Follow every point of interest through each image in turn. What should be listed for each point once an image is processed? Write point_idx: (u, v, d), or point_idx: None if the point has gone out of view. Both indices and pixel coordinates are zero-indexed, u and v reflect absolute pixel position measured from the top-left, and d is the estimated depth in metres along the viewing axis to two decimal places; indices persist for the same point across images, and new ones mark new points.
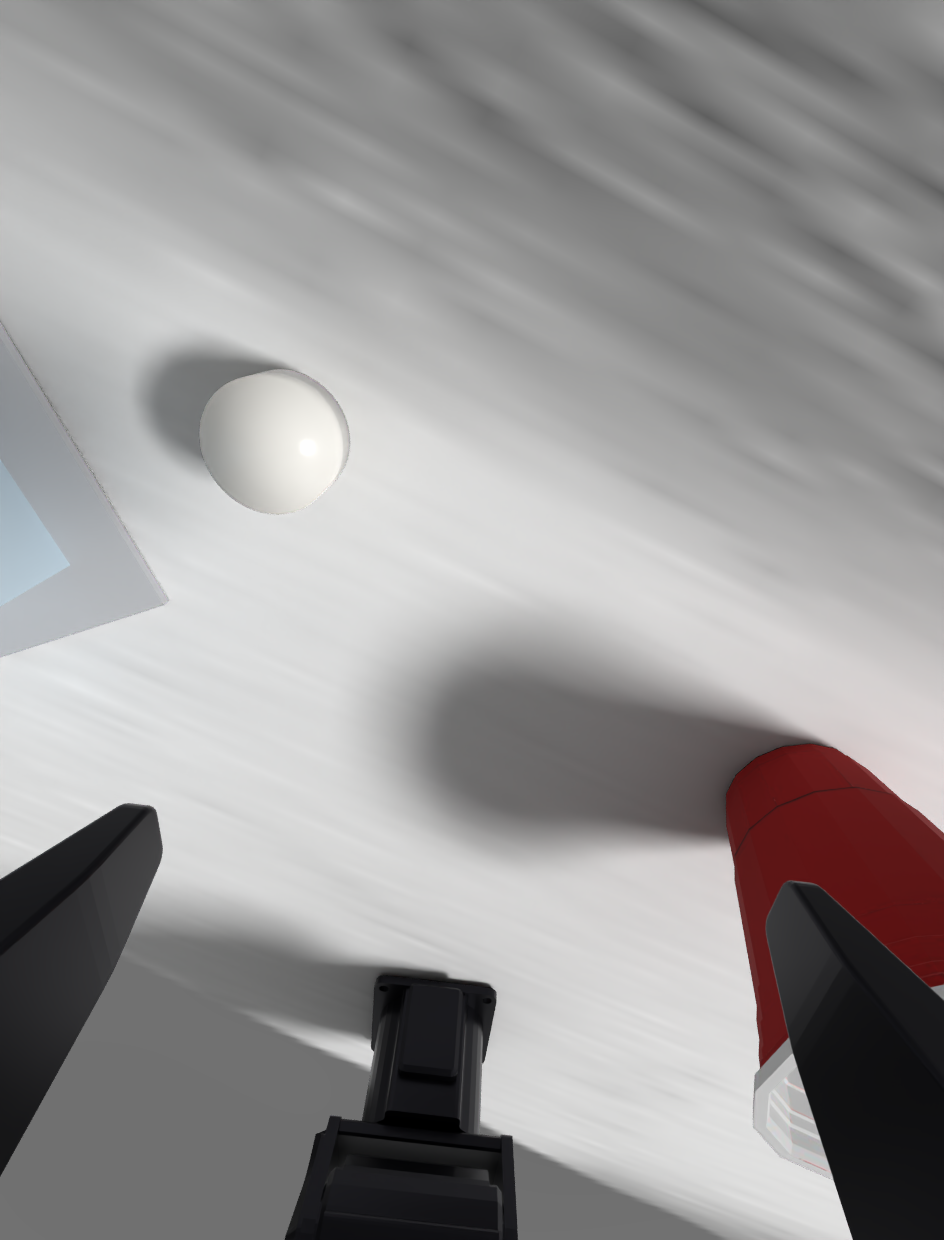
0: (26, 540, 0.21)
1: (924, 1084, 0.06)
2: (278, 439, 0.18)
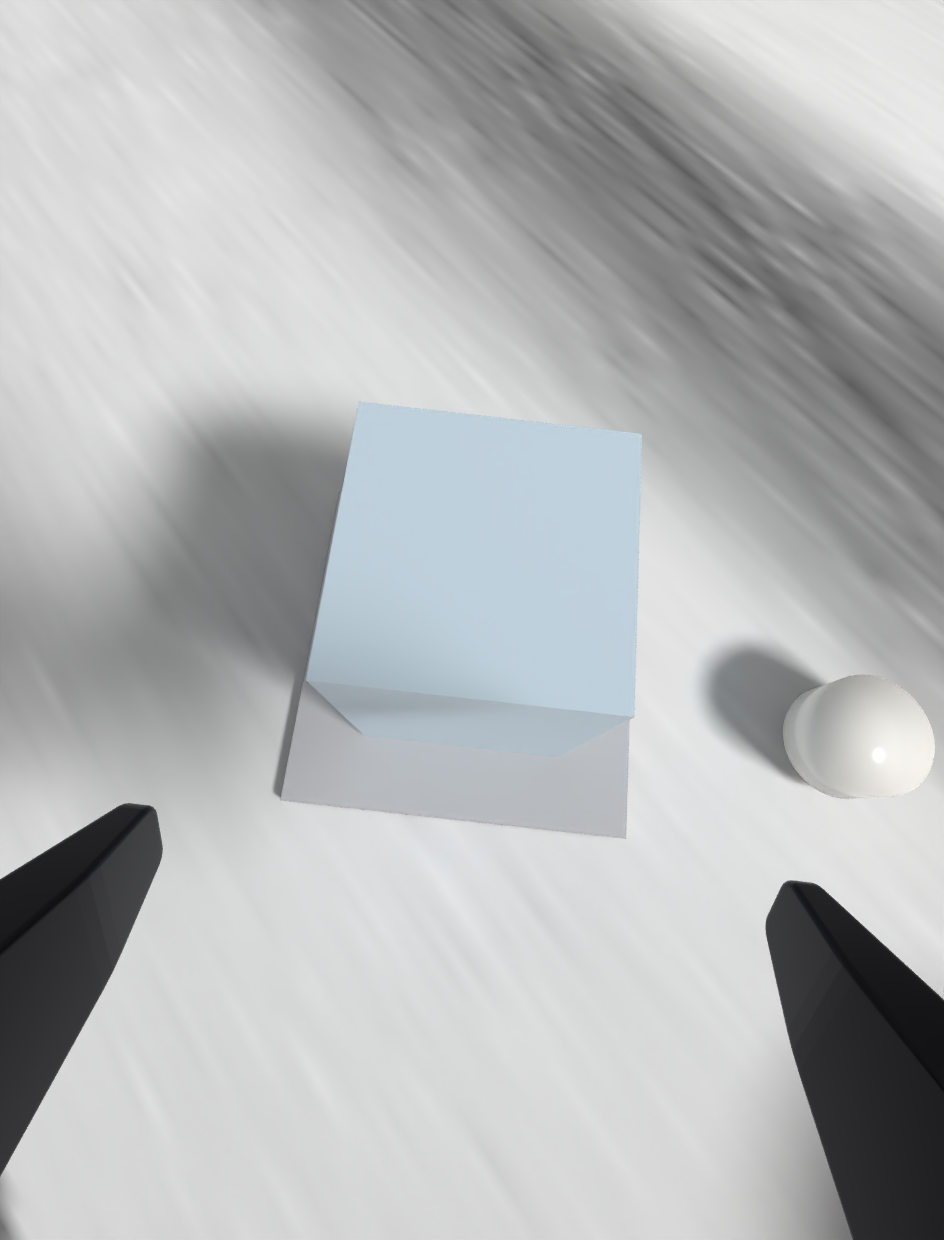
0: None
1: (924, 1084, 0.06)
2: (886, 731, 0.21)
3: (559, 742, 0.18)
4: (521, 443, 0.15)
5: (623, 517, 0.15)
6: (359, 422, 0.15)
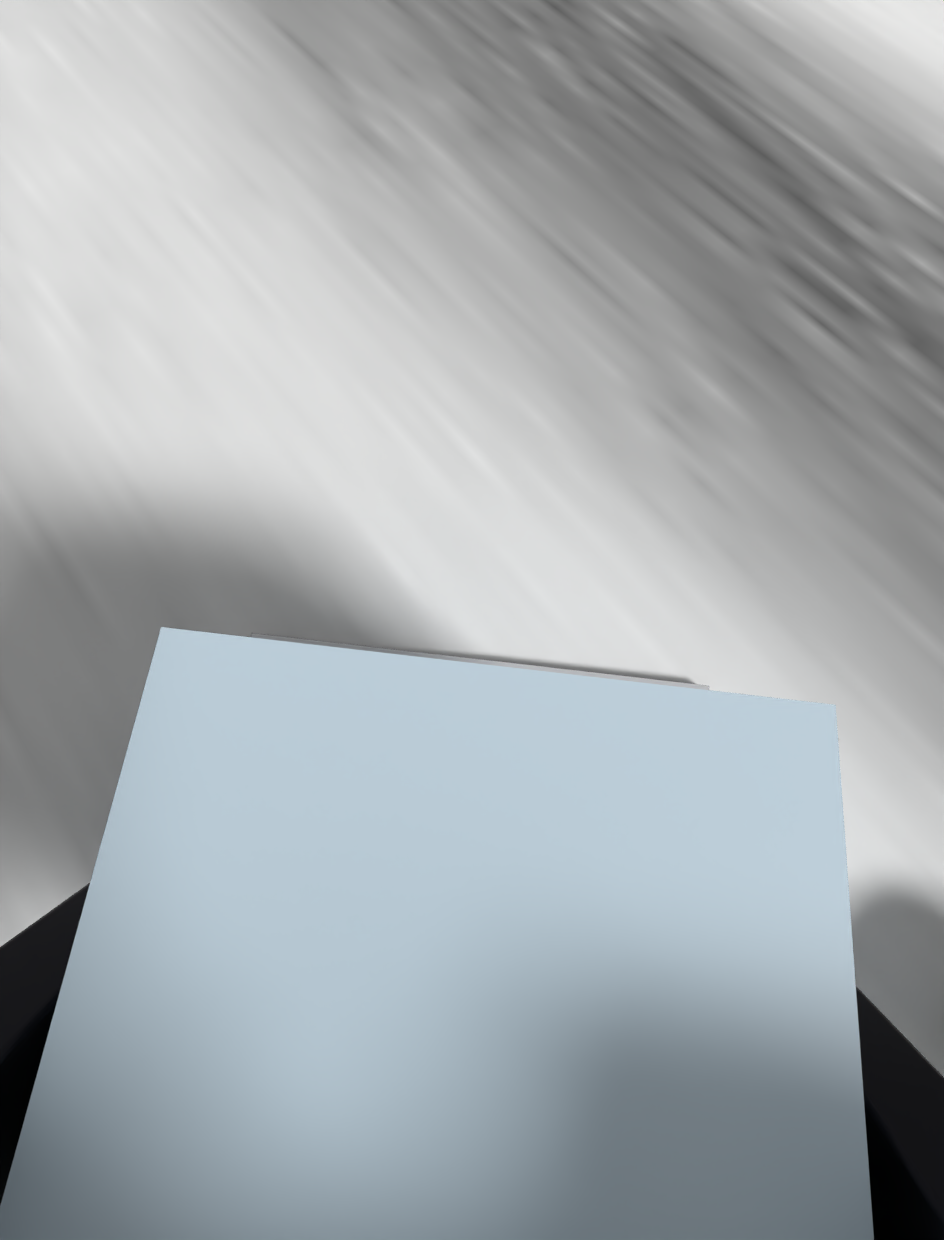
0: None
1: None
2: None
3: None
4: (548, 736, 0.06)
5: (812, 952, 0.06)
6: (155, 684, 0.06)
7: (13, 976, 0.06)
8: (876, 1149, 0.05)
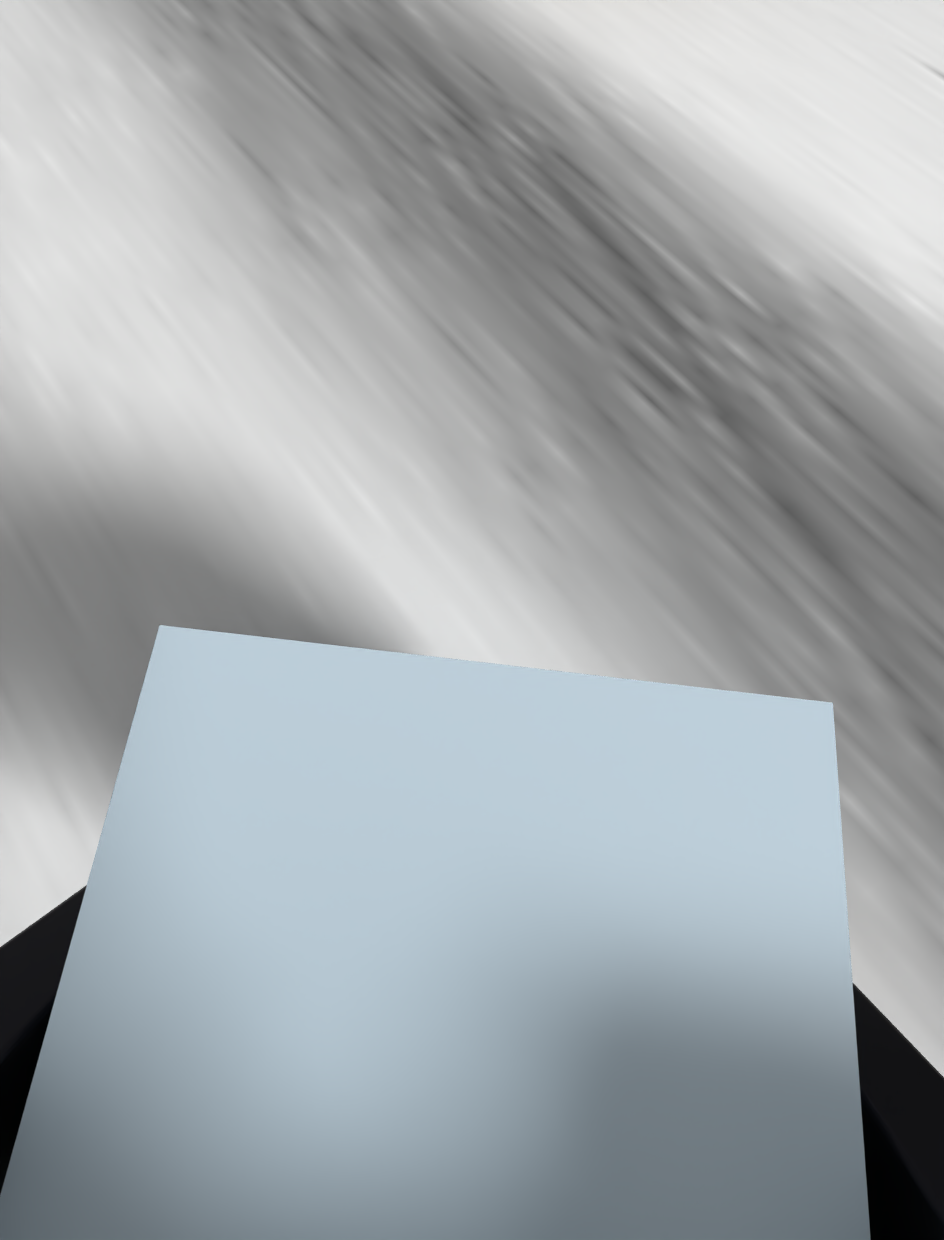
0: None
1: None
2: None
3: None
4: (546, 733, 0.06)
5: (809, 949, 0.06)
6: (154, 681, 0.06)
7: (13, 976, 0.06)
8: (876, 1148, 0.05)
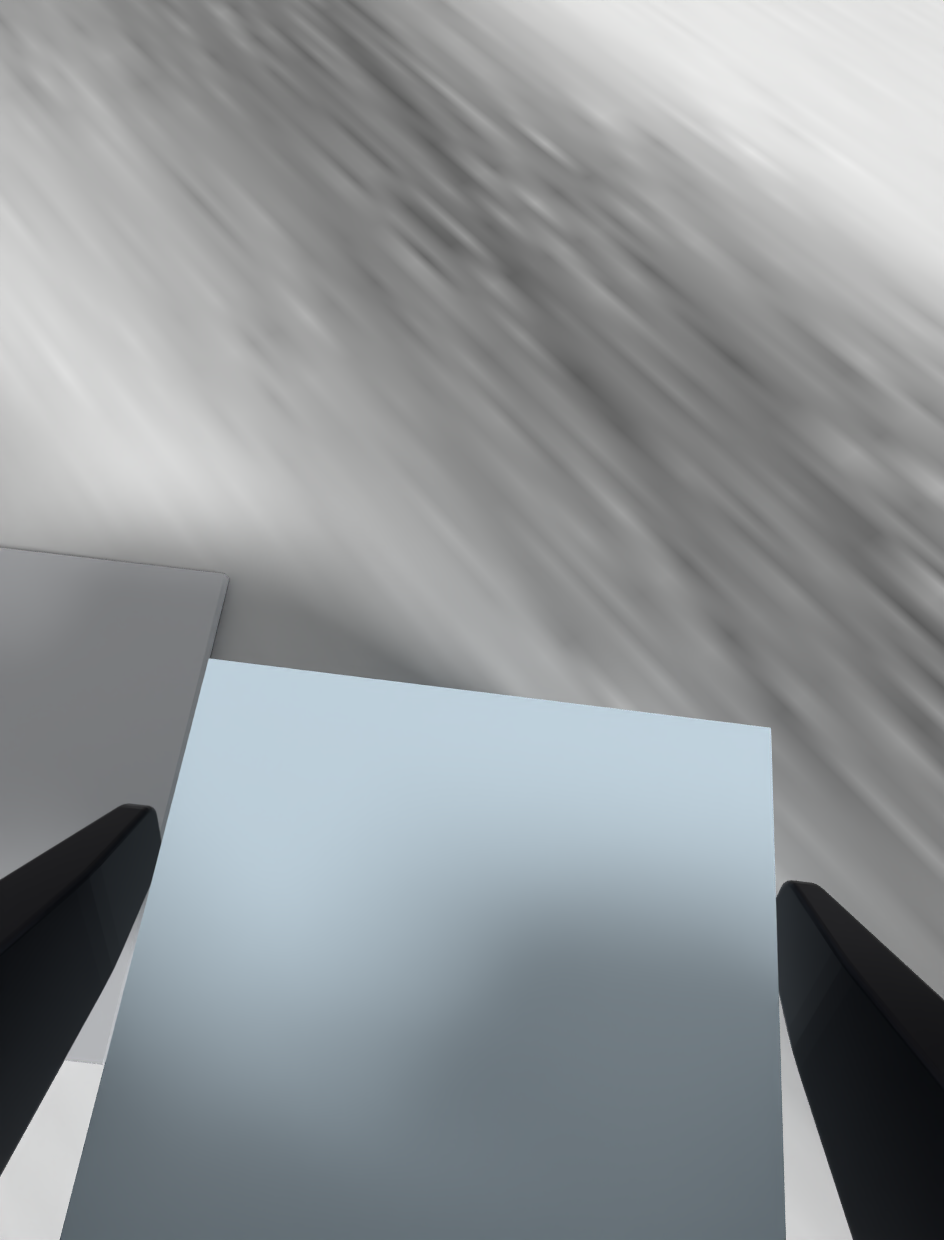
0: None
1: (924, 1084, 0.06)
2: None
3: None
4: (530, 752, 0.07)
5: (743, 932, 0.07)
6: (205, 706, 0.08)
7: None
8: None
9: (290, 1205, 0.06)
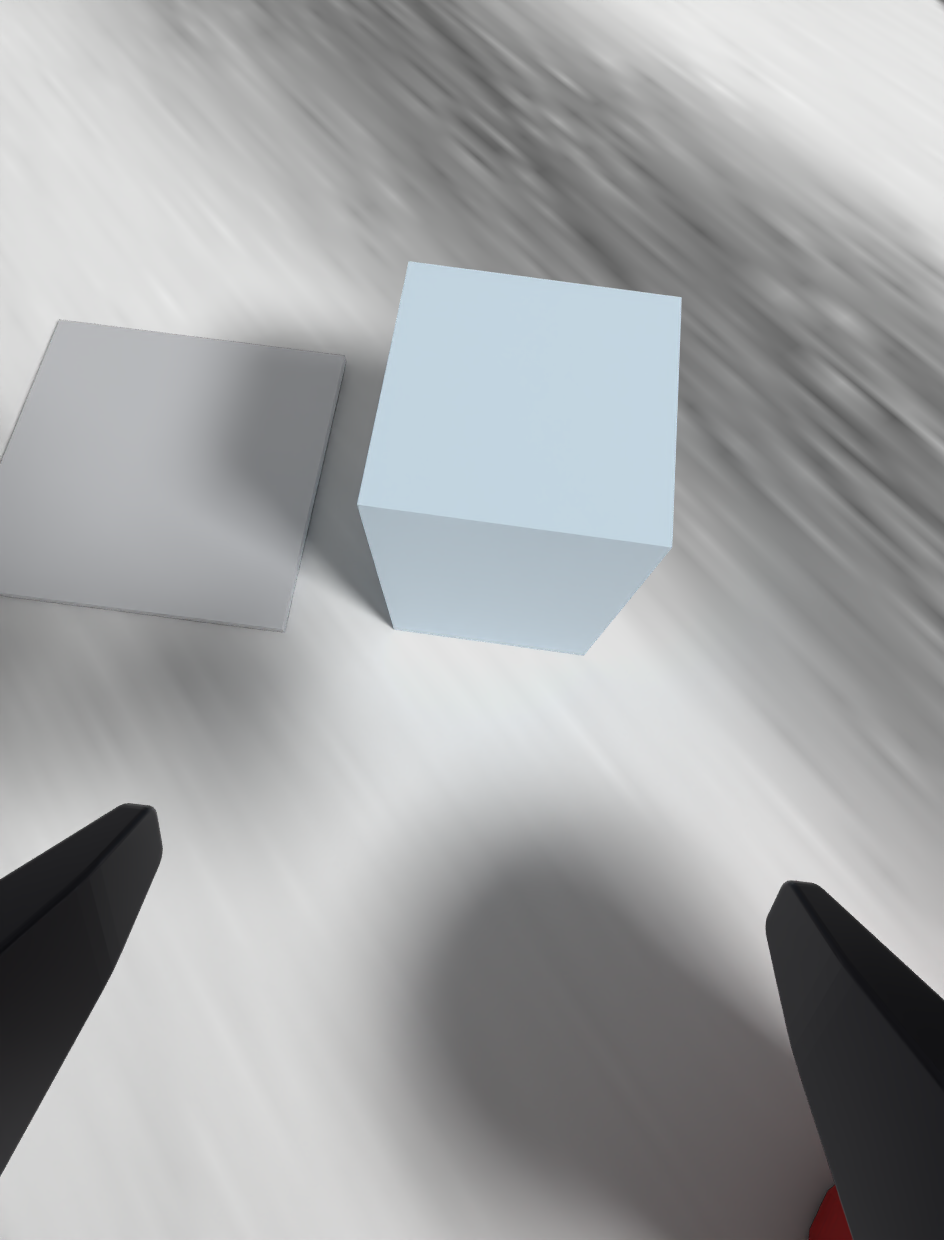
0: None
1: (924, 1084, 0.06)
2: None
3: (589, 619, 0.19)
4: (565, 302, 0.16)
5: (663, 371, 0.15)
6: (409, 279, 0.16)
7: None
8: None
9: (462, 450, 0.14)
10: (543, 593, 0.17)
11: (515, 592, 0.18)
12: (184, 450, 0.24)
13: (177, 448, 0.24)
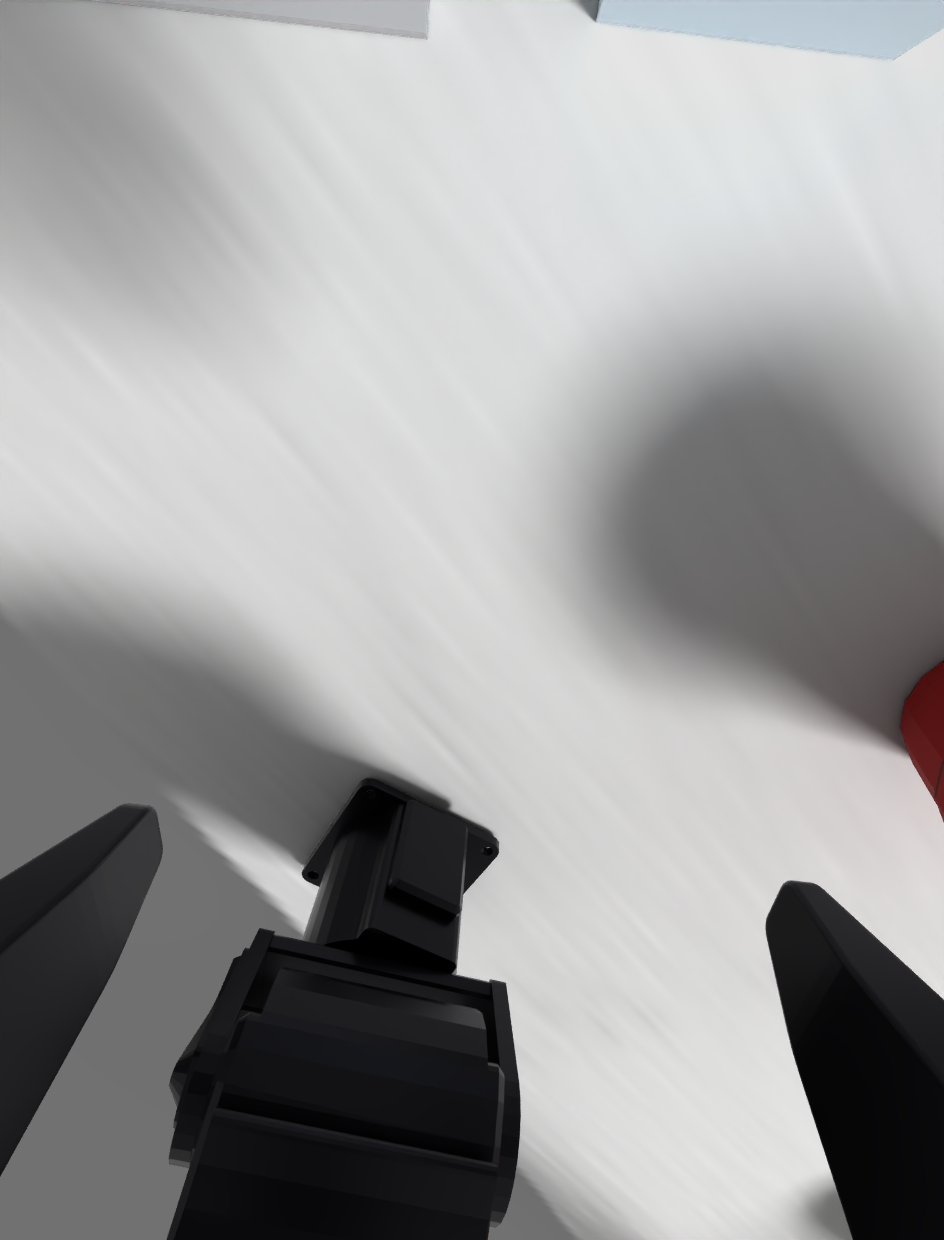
0: None
1: (924, 1084, 0.06)
2: None
3: None
4: None
5: None
6: None
7: None
8: None
9: None
10: None
11: None
12: None
13: None
